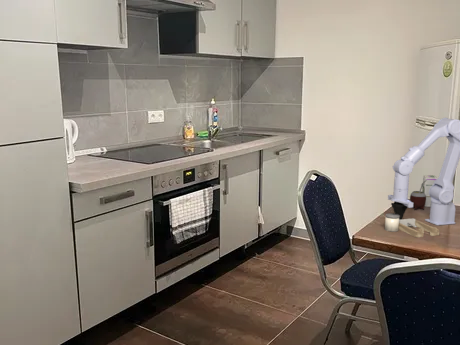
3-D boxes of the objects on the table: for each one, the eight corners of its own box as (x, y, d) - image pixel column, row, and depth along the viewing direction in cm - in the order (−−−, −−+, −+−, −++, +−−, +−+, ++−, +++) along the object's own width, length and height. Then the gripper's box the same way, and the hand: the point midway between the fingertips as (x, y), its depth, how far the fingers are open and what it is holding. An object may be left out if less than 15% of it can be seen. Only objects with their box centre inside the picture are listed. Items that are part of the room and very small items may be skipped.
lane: (413, 224, 193) (414, 217, 192) (439, 235, 179) (439, 227, 178) (392, 226, 190) (392, 219, 190) (416, 237, 176) (416, 230, 175)
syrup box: (436, 207, 220) (438, 177, 217) (423, 206, 221) (425, 177, 218) (433, 204, 225) (435, 175, 223) (420, 203, 226) (423, 174, 224)
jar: (392, 227, 189) (393, 212, 188) (401, 231, 184) (402, 216, 183) (381, 228, 187) (382, 213, 186) (390, 232, 182) (391, 217, 181)
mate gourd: (412, 206, 222) (414, 175, 219) (429, 208, 217) (431, 177, 214) (406, 209, 217) (409, 178, 214) (424, 212, 212) (426, 180, 209)
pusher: (413, 224, 191) (413, 218, 190) (423, 229, 185) (424, 222, 184) (398, 226, 189) (398, 219, 188) (408, 231, 183) (408, 224, 182)
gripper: (382, 185, 197) (380, 215, 200) (403, 193, 184) (401, 225, 186) (396, 184, 199) (394, 214, 202) (418, 191, 186) (416, 224, 188)
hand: (398, 219), depth 194 cm, fingers closed
